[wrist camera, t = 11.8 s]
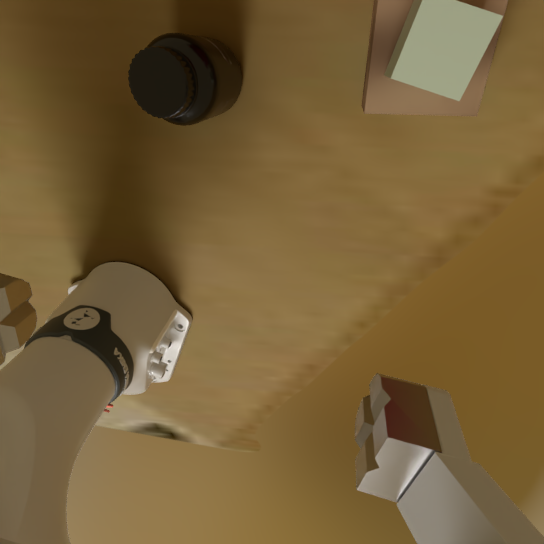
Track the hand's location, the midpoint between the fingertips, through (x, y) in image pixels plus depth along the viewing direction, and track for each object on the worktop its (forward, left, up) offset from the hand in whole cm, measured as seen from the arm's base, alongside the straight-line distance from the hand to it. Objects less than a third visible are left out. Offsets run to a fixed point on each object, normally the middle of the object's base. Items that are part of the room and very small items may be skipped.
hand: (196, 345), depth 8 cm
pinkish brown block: (+8, -8, -34) cm, 36 cm away
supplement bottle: (+2, +11, -34) cm, 36 cm away
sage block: (+8, -8, -28) cm, 30 cm away
